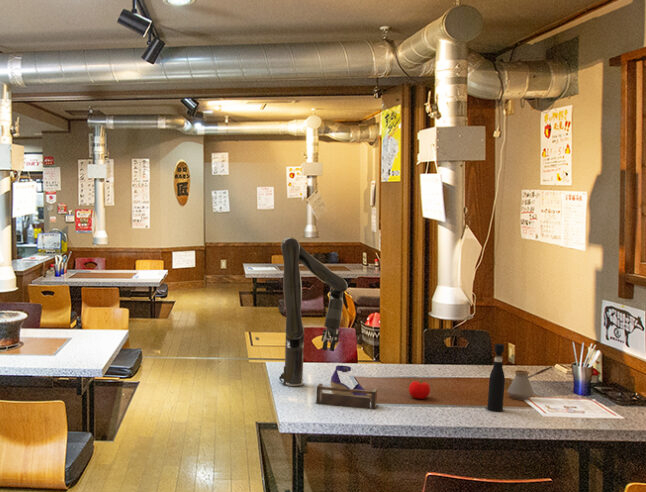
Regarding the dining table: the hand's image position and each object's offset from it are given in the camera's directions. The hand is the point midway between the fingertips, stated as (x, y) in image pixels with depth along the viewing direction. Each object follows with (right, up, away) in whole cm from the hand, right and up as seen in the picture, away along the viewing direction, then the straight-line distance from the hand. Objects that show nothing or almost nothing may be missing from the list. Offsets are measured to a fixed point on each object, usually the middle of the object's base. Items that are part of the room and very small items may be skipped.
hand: (327, 350), depth 376 cm
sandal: (+9, -22, -11) cm, 26 cm away
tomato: (+41, -22, -15) cm, 49 cm away
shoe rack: (+3, -24, -25) cm, 35 cm away
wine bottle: (+68, -26, -35) cm, 81 cm away
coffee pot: (+93, -22, -15) cm, 97 cm away
